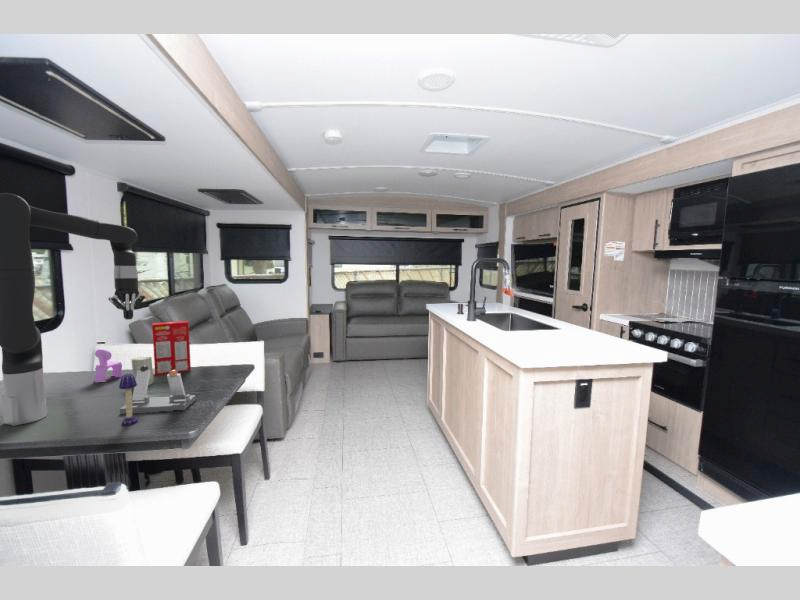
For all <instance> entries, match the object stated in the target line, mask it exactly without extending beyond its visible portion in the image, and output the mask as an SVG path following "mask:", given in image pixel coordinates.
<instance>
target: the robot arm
mask: <svg viewBox="0 0 800 600" xmlns="http://www.w3.org/2000/svg"><path fill="white" fill-rule="evenodd" d="M30 227H39V228H43V229H48V230H53V231H58V232H64V233H66V234H71V235H75V236H80V237H83V238H84V237H85V238H89V239H93V240H103V241H109V243H110V247H111V250H112V253H113V278H114V289H115V291H114V295H113V296H111V297H108V298H107V299H108V300H109V302H110V303H111V304H113V306H115V307H116V309H117V310H122V311H123V318H124V320H127V321H128V320H132V319H133V318H134V310H135V309H138V308H139V307H140V305H141V304H142V303H143V301H144V300H145V298H146V296H145V295H142V294H141V293H140V291H139V276H138V275H139V274H138V268H137V258H136V254H135V252H134V251H133V250H132V245H133V244H135V243H136V242H137V241H138V238H139V237H138V234H137V232H136V231H135V229H133V228H131V227H128V226H125V225H124V226H123V225H120V224H113V223H108V222H104V221H100V220H95V219H93V218H88V217H85V216H78V215H74V214H68V213H61V212H55V211H50V210H45V209H42V208H39V207H35V206H32V205H29V203H28V202H27V201H26V200H25V199H24V198H23V197H21V196H19V195H17V194H14V193H9V192H3V193H0V347H1V355H2V357H1V358H2V359H1V360H2V362H1V363H2V364H1V372H2V373H1V374H2V381H3V383H2V384H3V391H4V392H3V393H4V394H3V395H1V406H2V416H3V417H2V418H3V423H4V424H6V425H8V426H12V427H15V426H18V425H23V424H29V423H34V422H37V421H40V420H42V419H44V418H45V417H47V416H48V408H47V400H46V388H45V379H44V377H45V376H44V366H43V365H44V363H43V357H44V356H43V343H42V334H41V330H40V329H39V328H38V327H37V325H36V321H35V317H34V309H33V307H34V298H35V291H36V290H35V289H36V276H35V266H34V259H33V252H32V247H31V242H30Z"/></svg>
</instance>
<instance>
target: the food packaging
mask: <svg viewBox="0 0 800 600" xmlns="http://www.w3.org/2000/svg"><path fill="white" fill-rule="evenodd" d="M151 325H152V341H153V343H152V345H153V360H154V363H153V364H154V377H157V375H158V376H163V375H164V374H165V375H168V374H169V372H170V371H171V370H176V371H177V373H178V372H179V373H185V372H184V371H186V372H190V371H189V370H191V368H192V367H191V365H192V364H191V351H190V350H191V349H190V346H191V345H190V326H189V325H190V324H189V321H188V320H183V321H182V320H181V321H168V322H167V321H165V322H153V323H152V324H151ZM191 371H192V370H191Z"/></svg>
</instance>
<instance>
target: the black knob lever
mask: <svg viewBox="0 0 800 600" xmlns="http://www.w3.org/2000/svg"><path fill="white" fill-rule="evenodd" d="M150 371H151V370H148V367H147V366H142V367H141V368H140V370H137V375H136V383H137V386H136V387H133V392H132V402H138V401H145V400H144V398H145V397H147V396H148V395H147V394H148V389H149V388H148V387H149V385H148V383H149V377H150Z"/></svg>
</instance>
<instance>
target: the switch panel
mask: <svg viewBox="0 0 800 600" xmlns="http://www.w3.org/2000/svg"><path fill="white" fill-rule="evenodd" d="M185 395H186V399H183V400H173V397H172V394H171V395H169V396H156V397H150V396H148V395H146V397H145V398H144V400H145V401H138V402H132V414H143V413H144V414H146V413H147V412H149V413H160V412H159V411H166V412H174V411H173V410H183V411H186V408H187V407H188V406H189V405H190V404H191V405H192V404H193V403H194V402H195V401H196V399H197V398H196V394H195V395H194V394H192V395H191V394H189V393H188V394H185ZM191 405H190V406H191ZM190 406H189V407H190ZM189 407H188V408H189ZM188 408H187V409H188ZM126 410H127V409H126V404H125V405H123V406H121V407H120V408H119V415H126V414H127V413H126Z"/></svg>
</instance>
